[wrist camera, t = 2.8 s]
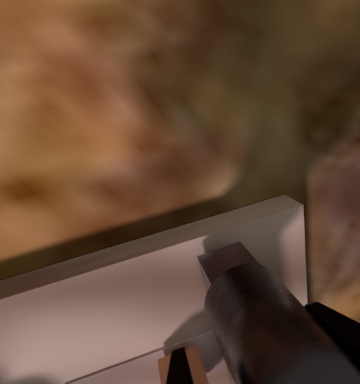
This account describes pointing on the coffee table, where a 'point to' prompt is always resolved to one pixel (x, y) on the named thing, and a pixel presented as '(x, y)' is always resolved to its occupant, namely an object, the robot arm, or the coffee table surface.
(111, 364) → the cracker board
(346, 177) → the coffee table surface
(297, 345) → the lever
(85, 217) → the coffee table surface
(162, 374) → the terracotta cube
